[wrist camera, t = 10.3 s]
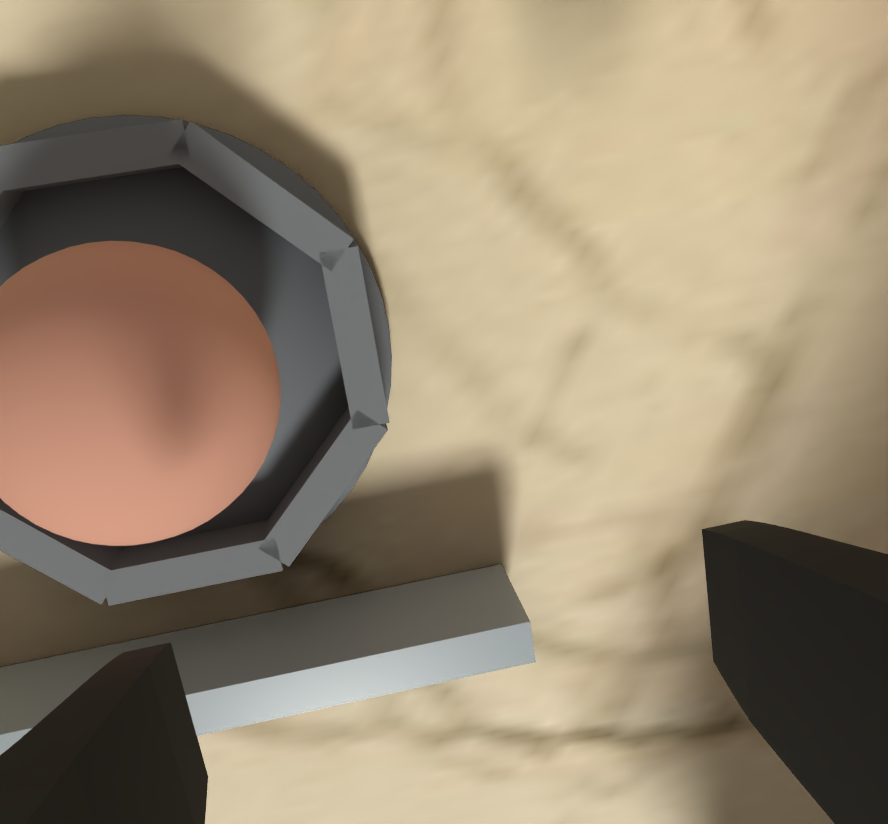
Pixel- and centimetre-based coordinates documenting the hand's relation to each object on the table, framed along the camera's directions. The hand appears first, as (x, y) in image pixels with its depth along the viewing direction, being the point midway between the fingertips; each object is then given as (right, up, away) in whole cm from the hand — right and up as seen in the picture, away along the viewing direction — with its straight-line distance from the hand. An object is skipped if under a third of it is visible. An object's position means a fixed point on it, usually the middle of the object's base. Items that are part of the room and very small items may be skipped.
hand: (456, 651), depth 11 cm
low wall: (-5, -2, +9) cm, 11 cm away
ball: (-6, +4, +7) cm, 11 cm away
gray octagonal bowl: (-7, +4, +8) cm, 11 cm away
